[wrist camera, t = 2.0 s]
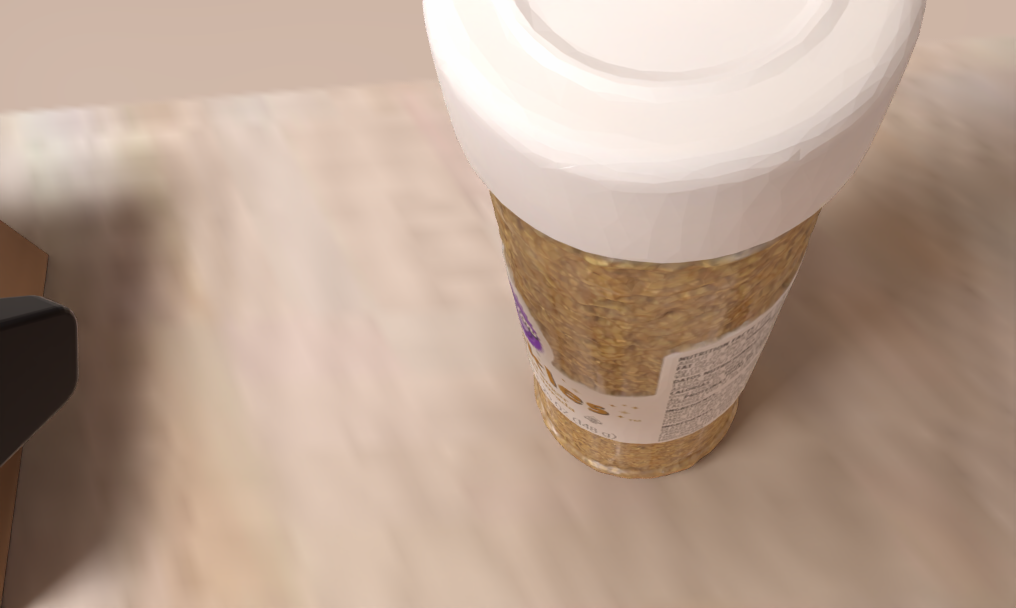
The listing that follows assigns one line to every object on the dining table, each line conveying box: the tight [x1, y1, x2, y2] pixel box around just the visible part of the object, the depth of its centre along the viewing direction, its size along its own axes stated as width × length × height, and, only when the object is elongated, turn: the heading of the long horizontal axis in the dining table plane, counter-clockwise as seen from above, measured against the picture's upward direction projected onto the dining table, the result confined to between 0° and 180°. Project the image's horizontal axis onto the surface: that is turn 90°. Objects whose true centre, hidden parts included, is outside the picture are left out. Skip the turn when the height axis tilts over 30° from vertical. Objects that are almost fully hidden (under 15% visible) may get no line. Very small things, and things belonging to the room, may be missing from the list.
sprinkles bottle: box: [423, 0, 926, 479], centre depth 14 cm, size 5×5×13 cm
